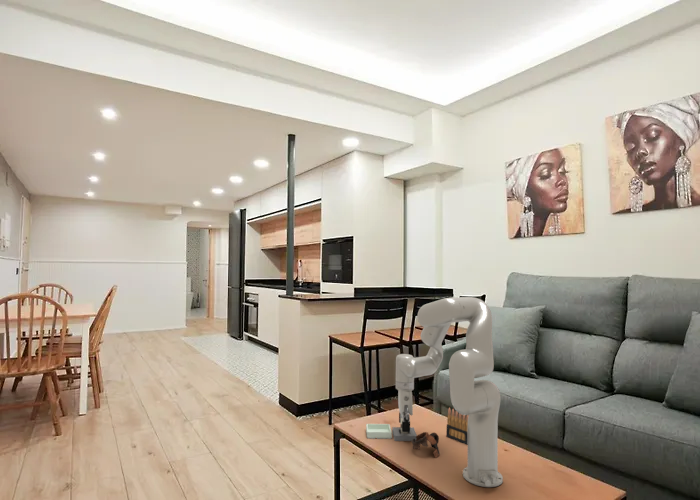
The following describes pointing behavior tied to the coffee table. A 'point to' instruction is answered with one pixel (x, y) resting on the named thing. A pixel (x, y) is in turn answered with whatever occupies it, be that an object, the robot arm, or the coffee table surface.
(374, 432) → the parts tray
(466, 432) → the ammunition clip
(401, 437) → the socket block
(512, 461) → the coffee table surface
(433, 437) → the pottery mug
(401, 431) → the cylinder
